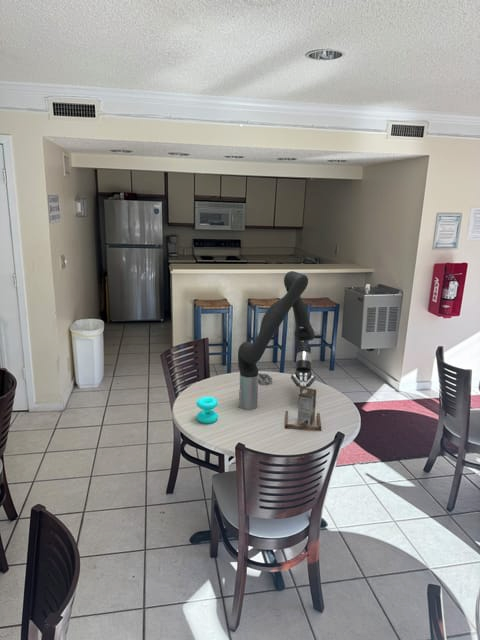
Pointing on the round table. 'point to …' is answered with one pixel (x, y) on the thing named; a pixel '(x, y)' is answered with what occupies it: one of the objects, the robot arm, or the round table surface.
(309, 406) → the coffee box
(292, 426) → the open wooden frame
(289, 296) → the robot arm
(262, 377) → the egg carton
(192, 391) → the round table surface
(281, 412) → the round table surface
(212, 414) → the turquoise spool
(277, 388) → the round table surface
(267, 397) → the round table surface
